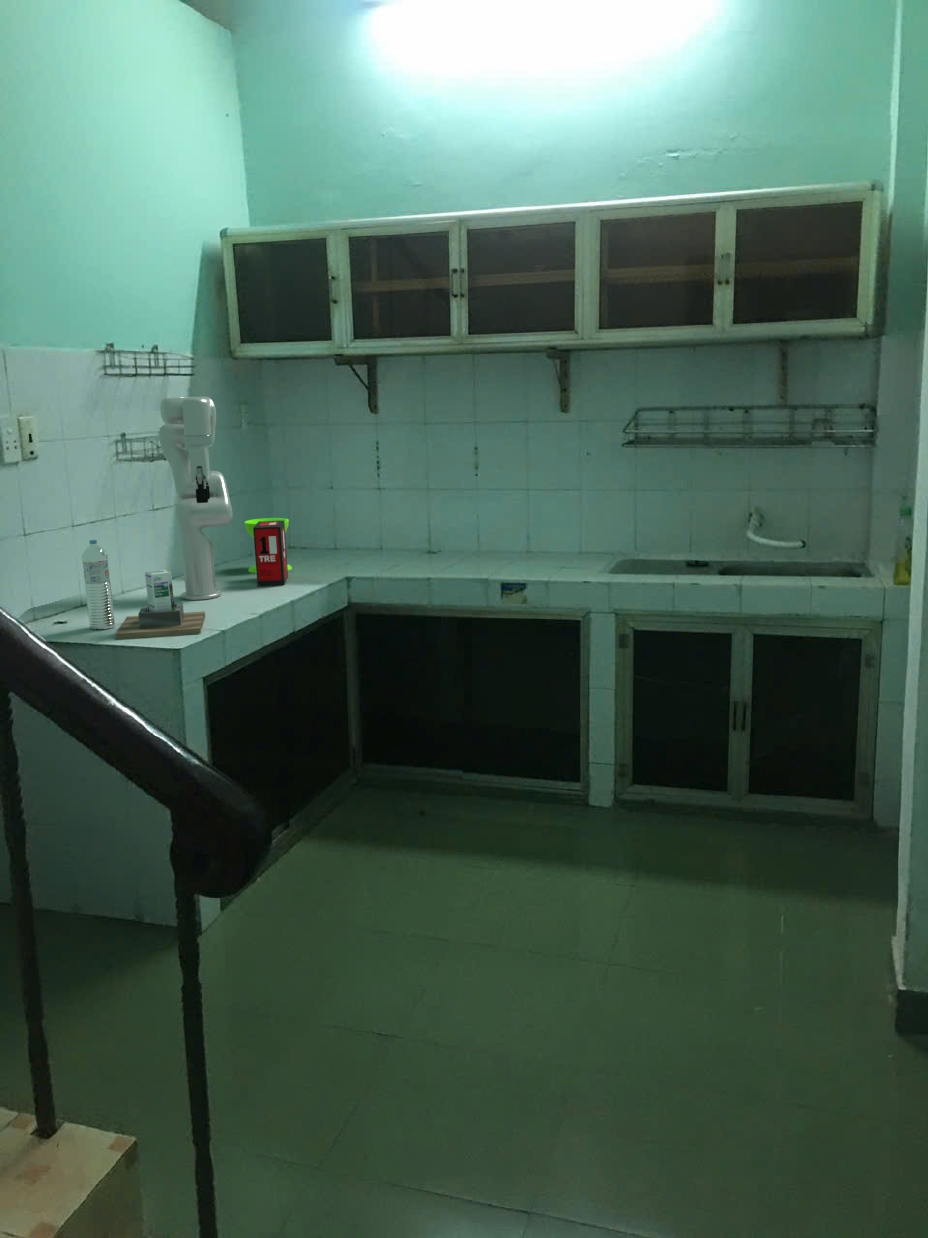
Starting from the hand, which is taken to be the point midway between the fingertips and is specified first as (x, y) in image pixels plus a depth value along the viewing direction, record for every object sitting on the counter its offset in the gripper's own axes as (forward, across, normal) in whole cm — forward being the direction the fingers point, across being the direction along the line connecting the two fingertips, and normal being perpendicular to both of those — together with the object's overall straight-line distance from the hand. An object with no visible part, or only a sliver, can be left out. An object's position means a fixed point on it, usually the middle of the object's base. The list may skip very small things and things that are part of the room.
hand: (203, 500), depth 295 cm
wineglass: (+34, -69, +17) cm, 79 cm away
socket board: (+33, +17, -13) cm, 40 cm away
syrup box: (+32, +17, -13) cm, 38 cm away
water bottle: (+33, +12, -30) cm, 46 cm away
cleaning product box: (+34, -44, +18) cm, 58 cm away
